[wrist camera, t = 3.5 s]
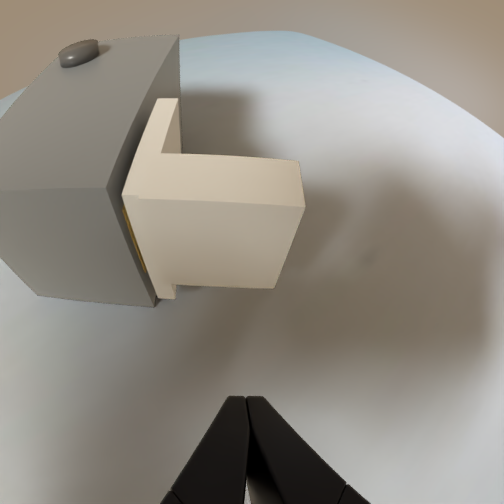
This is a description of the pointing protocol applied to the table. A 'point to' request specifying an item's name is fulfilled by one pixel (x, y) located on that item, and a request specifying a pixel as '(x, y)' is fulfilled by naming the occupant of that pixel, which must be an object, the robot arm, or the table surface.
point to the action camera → (82, 168)
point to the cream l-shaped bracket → (209, 211)
